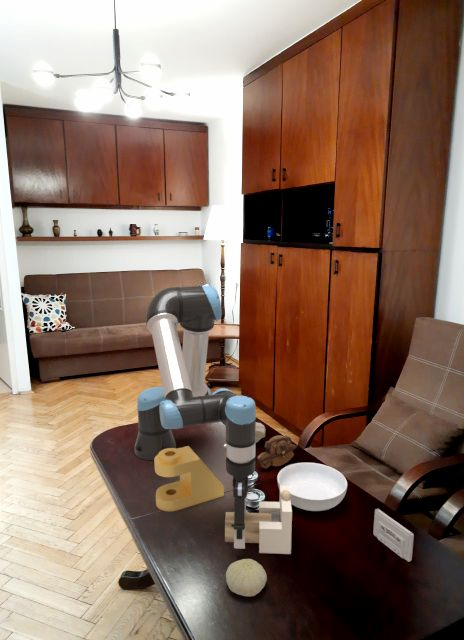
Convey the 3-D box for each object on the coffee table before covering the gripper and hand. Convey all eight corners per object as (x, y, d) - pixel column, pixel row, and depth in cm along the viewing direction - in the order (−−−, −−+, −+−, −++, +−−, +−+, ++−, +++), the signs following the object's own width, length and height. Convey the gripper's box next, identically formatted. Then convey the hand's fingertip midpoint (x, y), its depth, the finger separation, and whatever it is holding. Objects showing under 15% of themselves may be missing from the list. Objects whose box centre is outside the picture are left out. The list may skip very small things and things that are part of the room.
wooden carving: (265, 475, 149) (265, 447, 147) (256, 469, 153) (256, 442, 151) (299, 459, 159) (300, 433, 157) (289, 454, 163) (290, 429, 161)
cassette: (413, 560, 111) (415, 533, 110) (407, 563, 110) (410, 536, 109) (376, 532, 122) (378, 507, 120) (371, 534, 121) (373, 509, 119)
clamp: (162, 515, 129) (160, 464, 126) (152, 498, 137) (150, 450, 134) (223, 496, 138) (223, 448, 135) (211, 481, 146) (210, 436, 143)
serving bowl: (349, 487, 143) (350, 467, 141) (342, 528, 123) (343, 506, 122) (285, 475, 149) (285, 456, 148) (269, 512, 130) (269, 491, 129)
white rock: (259, 436, 177) (259, 413, 175) (271, 445, 170) (272, 420, 168) (233, 444, 171) (233, 419, 169) (245, 453, 164) (245, 428, 162)
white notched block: (258, 523, 125) (259, 478, 122) (287, 524, 125) (289, 478, 122) (259, 552, 114) (259, 503, 111) (291, 554, 113) (292, 504, 111)
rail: (226, 531, 122) (225, 510, 121) (278, 533, 121) (278, 512, 120) (224, 542, 118) (224, 520, 116) (279, 544, 117) (279, 522, 116)
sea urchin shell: (220, 562, 107) (245, 541, 106) (242, 582, 108) (267, 561, 108) (223, 593, 98) (250, 570, 97) (247, 614, 99) (274, 592, 99)
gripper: (228, 434, 127) (228, 501, 132) (222, 483, 103) (223, 563, 107) (255, 434, 127) (254, 501, 131) (255, 484, 102) (254, 564, 107)
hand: (240, 529), depth 119 cm, fingers open, 13 cm apart
